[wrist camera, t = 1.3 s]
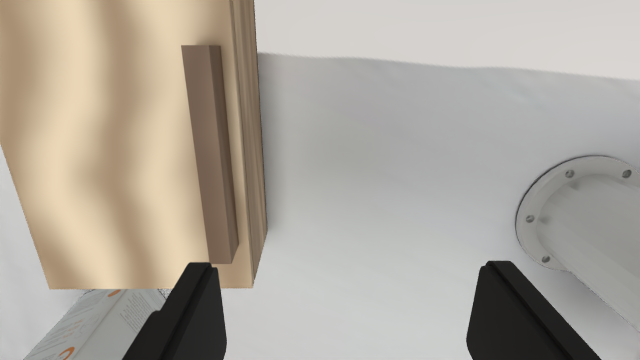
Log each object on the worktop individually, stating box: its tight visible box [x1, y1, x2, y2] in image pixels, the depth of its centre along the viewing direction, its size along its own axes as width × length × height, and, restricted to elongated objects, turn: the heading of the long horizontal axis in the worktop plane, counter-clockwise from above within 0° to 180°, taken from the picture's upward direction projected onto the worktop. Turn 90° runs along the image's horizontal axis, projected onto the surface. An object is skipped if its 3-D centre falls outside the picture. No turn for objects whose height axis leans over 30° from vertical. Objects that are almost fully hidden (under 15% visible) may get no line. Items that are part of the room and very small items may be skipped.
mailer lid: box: [0, 0, 254, 289], centre depth 23 cm, size 16×22×3 cm
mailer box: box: [232, 0, 267, 280], centre depth 28 cm, size 16×22×8 cm
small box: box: [23, 289, 166, 360], centre depth 33 cm, size 8×6×13 cm
